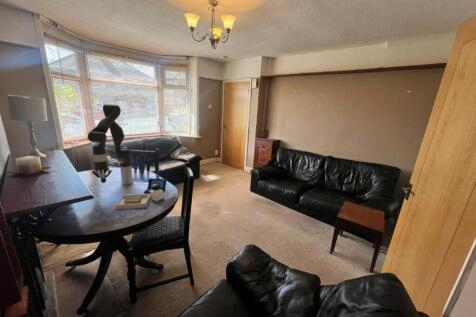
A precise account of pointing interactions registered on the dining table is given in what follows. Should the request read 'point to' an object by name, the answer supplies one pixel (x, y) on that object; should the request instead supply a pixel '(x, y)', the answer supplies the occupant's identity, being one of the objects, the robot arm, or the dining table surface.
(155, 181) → the handheld game console
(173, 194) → the dining table surface
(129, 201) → the slab
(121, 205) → the tray
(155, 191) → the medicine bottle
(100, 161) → the robot arm
